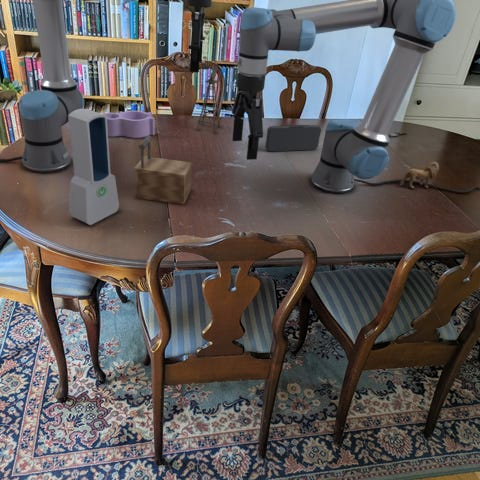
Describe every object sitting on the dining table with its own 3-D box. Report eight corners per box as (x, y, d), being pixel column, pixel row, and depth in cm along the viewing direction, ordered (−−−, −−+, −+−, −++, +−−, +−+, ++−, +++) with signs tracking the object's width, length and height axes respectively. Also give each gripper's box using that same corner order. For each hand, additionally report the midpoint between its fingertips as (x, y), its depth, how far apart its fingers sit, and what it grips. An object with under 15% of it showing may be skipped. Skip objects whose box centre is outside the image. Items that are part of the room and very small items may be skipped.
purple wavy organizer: (104, 138, 183) (103, 121, 179) (102, 127, 192) (100, 111, 189) (155, 137, 189) (155, 120, 185) (150, 126, 199) (150, 110, 195)
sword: (403, 131, 224) (404, 129, 223) (408, 133, 222) (409, 131, 221) (360, 143, 208) (360, 140, 207) (365, 145, 206) (366, 142, 205)
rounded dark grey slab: (315, 147, 196) (319, 124, 190) (317, 149, 194) (322, 126, 188) (264, 149, 189) (267, 125, 183) (266, 152, 187) (269, 127, 181)
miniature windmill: (215, 133, 199) (220, 59, 183) (196, 130, 200) (199, 56, 184) (220, 126, 207) (225, 55, 190) (201, 123, 208) (205, 52, 191)
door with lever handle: (134, 171, 141) (133, 144, 136) (143, 159, 149) (143, 133, 144) (184, 178, 140) (185, 151, 135) (191, 165, 148) (192, 139, 143)
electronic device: (87, 227, 129) (77, 121, 112) (68, 218, 132) (56, 113, 115) (120, 210, 138) (114, 110, 122) (101, 202, 141) (94, 103, 125)
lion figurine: (427, 181, 177) (434, 159, 172) (436, 187, 173) (444, 165, 168) (395, 184, 172) (401, 161, 167) (403, 190, 168) (411, 167, 163)
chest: (138, 198, 146) (137, 172, 141) (147, 184, 154) (146, 159, 149) (183, 204, 145) (184, 178, 140) (190, 190, 153) (191, 166, 148)
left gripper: (210, -3, 126) (205, 77, 137) (213, -12, 147) (209, 59, 158) (182, -6, 125) (180, 75, 137) (190, -14, 146) (187, 56, 158)
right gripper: (224, 61, 131) (219, 134, 143) (253, 86, 112) (245, 168, 123) (249, 62, 133) (243, 133, 145) (282, 86, 114) (271, 166, 125)
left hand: (196, 66), depth 147 cm, fingers open, 13 cm apart
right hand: (244, 149), depth 134 cm, fingers open, 13 cm apart
